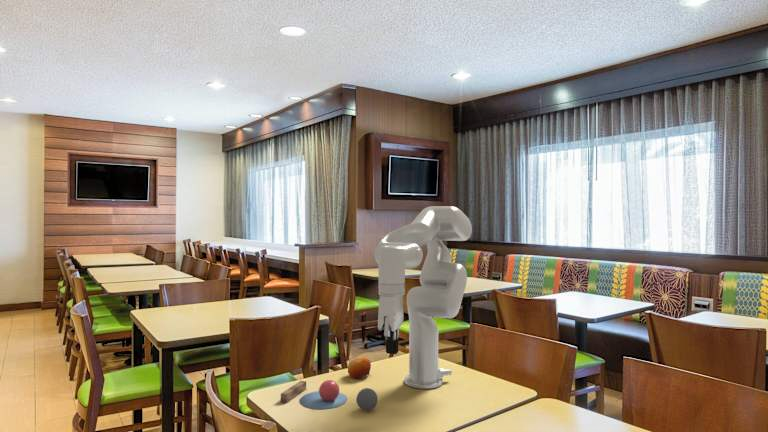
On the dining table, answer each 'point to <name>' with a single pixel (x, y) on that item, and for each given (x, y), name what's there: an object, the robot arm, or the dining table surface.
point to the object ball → (329, 390)
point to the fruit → (359, 367)
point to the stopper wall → (293, 391)
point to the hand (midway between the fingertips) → (392, 352)
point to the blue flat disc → (321, 401)
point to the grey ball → (367, 399)
